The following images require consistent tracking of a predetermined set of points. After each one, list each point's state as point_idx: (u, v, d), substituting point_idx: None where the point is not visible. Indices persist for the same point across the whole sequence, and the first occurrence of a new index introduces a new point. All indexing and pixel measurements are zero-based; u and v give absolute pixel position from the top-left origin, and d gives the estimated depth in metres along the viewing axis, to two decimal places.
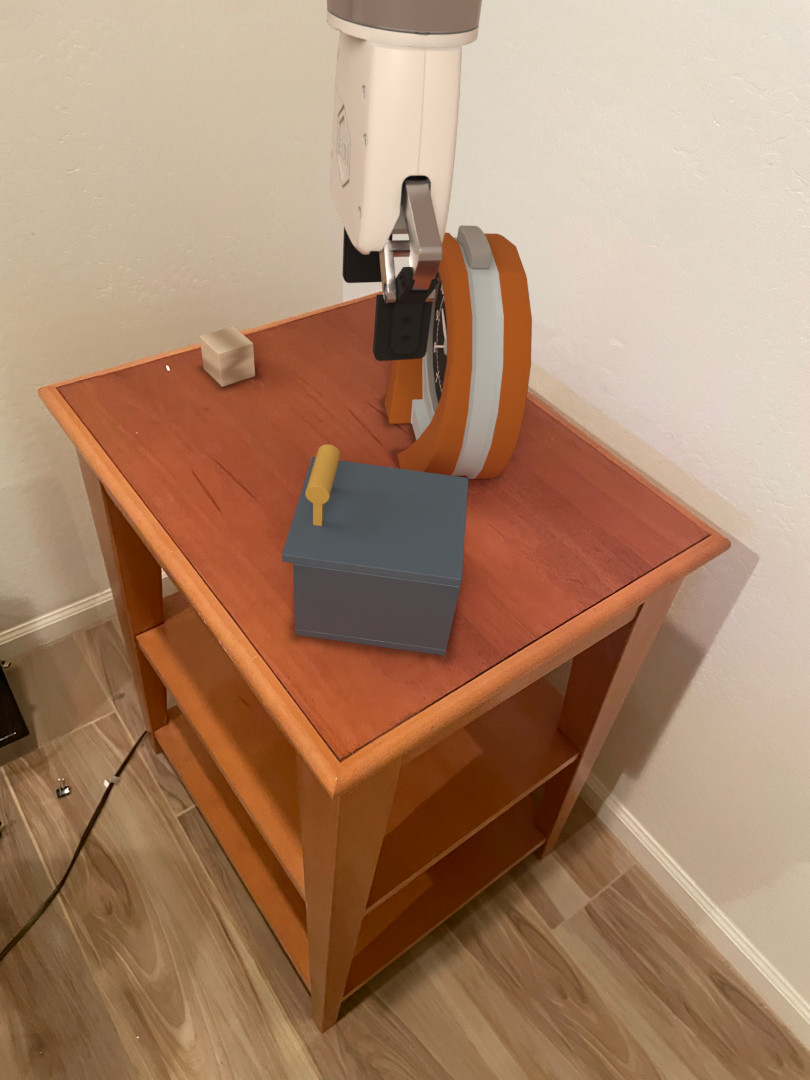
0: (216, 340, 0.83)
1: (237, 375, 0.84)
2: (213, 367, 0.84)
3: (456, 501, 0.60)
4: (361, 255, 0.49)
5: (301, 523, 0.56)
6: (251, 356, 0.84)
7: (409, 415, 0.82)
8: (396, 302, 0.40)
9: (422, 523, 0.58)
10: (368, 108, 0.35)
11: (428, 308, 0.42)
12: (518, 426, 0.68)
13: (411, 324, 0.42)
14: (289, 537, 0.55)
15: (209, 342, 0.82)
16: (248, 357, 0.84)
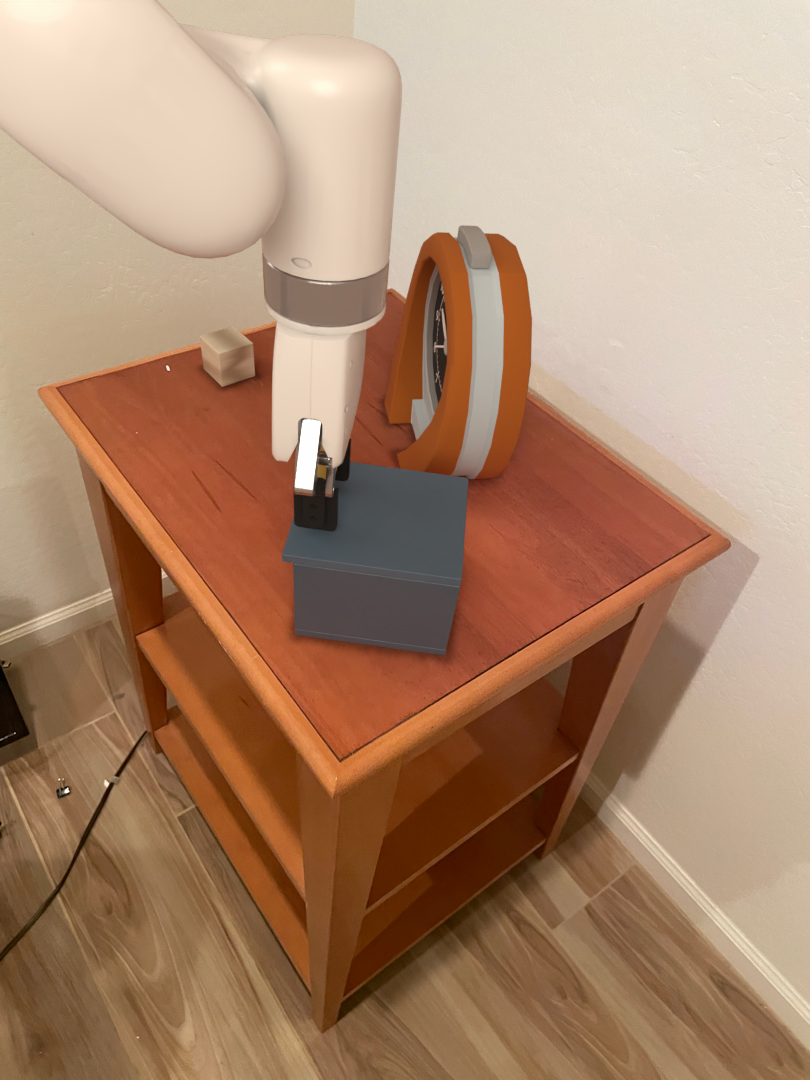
0: (216, 340, 0.83)
1: (237, 375, 0.84)
2: (213, 367, 0.84)
3: (456, 501, 0.60)
4: None
5: None
6: (251, 356, 0.84)
7: (409, 415, 0.82)
8: None
9: (422, 523, 0.58)
10: (273, 368, 0.45)
11: (334, 499, 0.53)
12: (518, 426, 0.68)
13: (317, 509, 0.53)
14: (289, 537, 0.55)
15: (209, 342, 0.82)
16: (248, 357, 0.84)
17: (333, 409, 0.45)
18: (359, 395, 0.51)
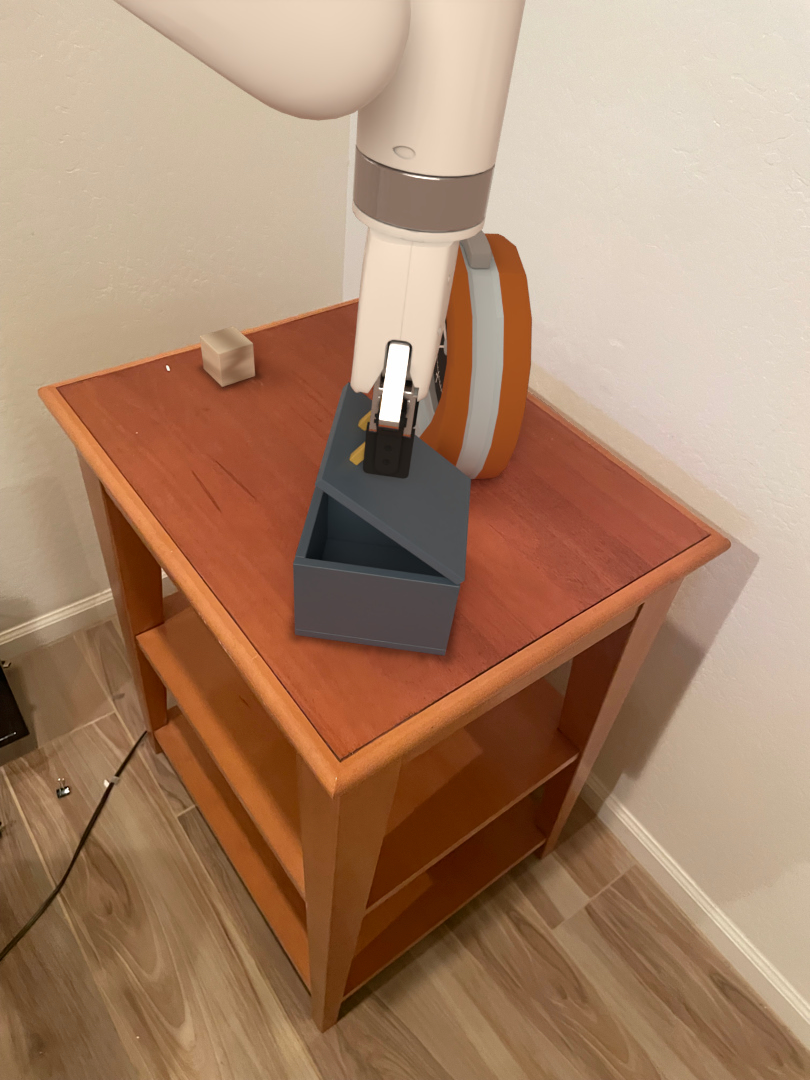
0: (216, 340, 0.83)
1: (237, 375, 0.84)
2: (213, 367, 0.84)
3: (461, 498, 0.59)
4: None
5: (339, 452, 0.51)
6: (251, 356, 0.84)
7: None
8: (377, 432, 0.47)
9: (436, 506, 0.56)
10: (362, 281, 0.40)
11: (411, 441, 0.49)
12: (518, 426, 0.68)
13: (391, 451, 0.48)
14: (328, 462, 0.50)
15: (209, 342, 0.82)
16: (248, 357, 0.84)
17: (427, 329, 0.41)
18: None
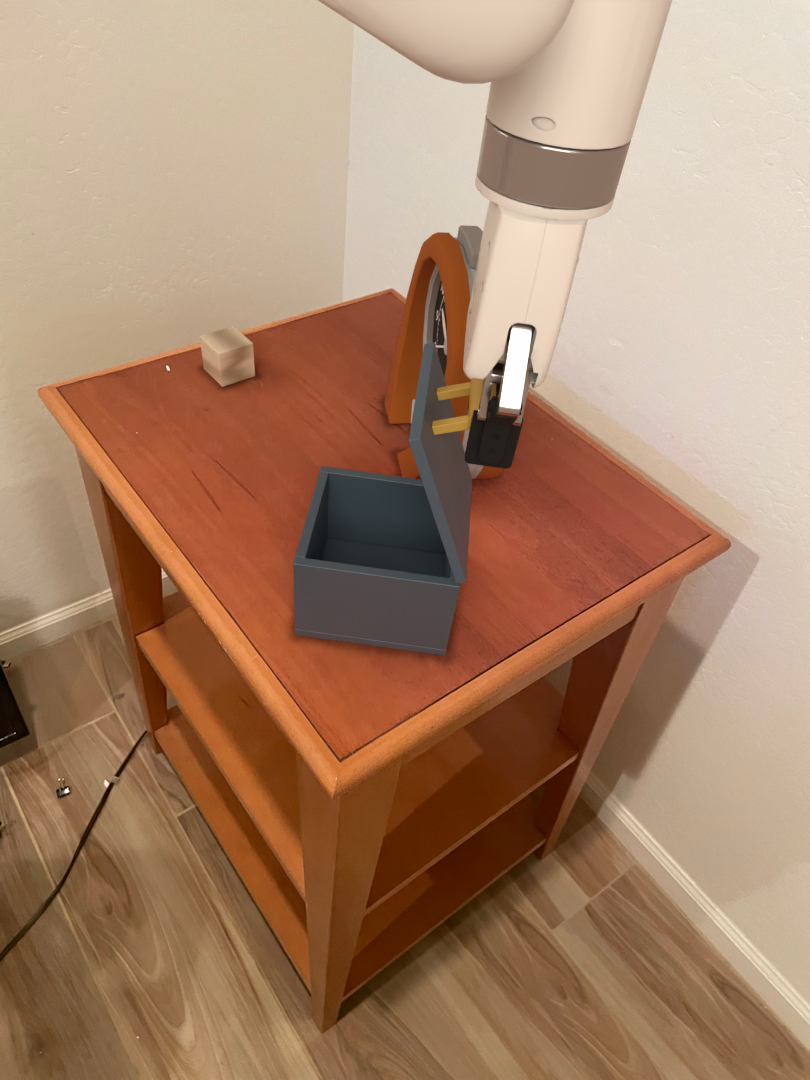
0: (216, 340, 0.83)
1: (237, 375, 0.84)
2: (213, 367, 0.84)
3: (468, 498, 0.59)
4: None
5: (428, 415, 0.48)
6: (251, 356, 0.84)
7: (409, 415, 0.82)
8: (486, 421, 0.46)
9: (460, 500, 0.55)
10: (488, 262, 0.39)
11: (518, 430, 0.47)
12: None
13: (498, 440, 0.47)
14: (423, 423, 0.46)
15: (209, 342, 0.82)
16: (248, 357, 0.84)
17: (553, 312, 0.39)
18: None
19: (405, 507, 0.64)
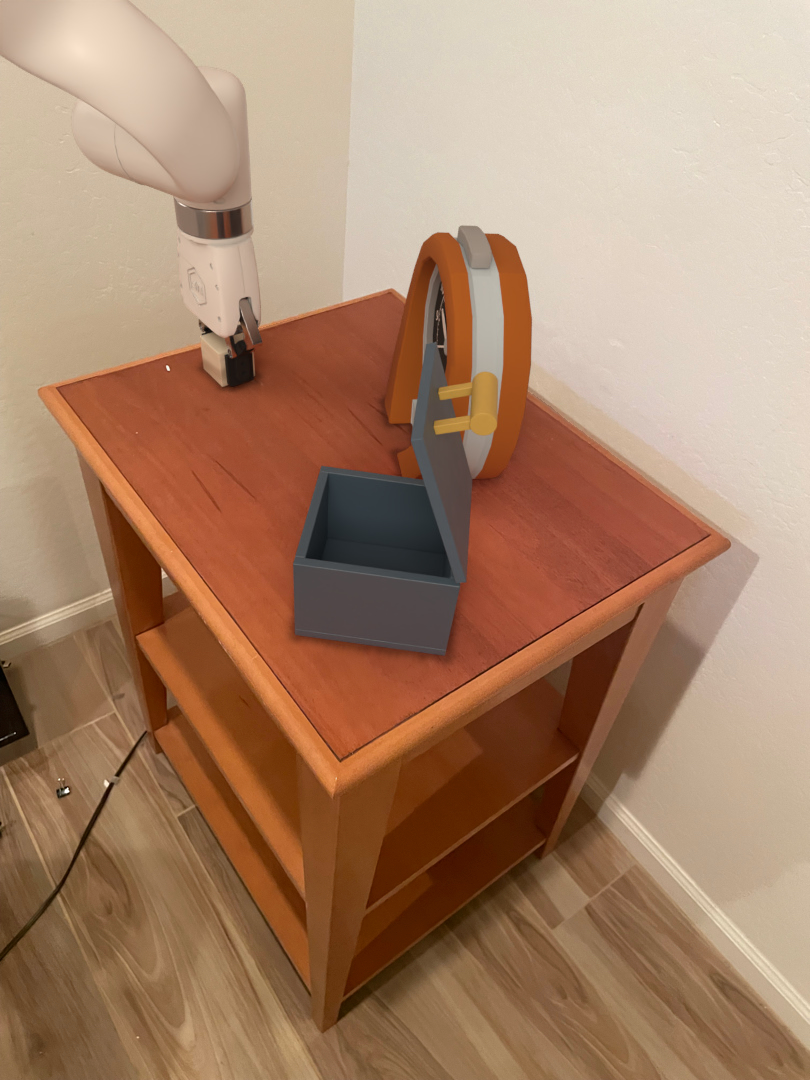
0: (216, 341, 0.83)
1: None
2: (213, 367, 0.84)
3: (468, 498, 0.59)
4: None
5: (430, 415, 0.48)
6: None
7: (409, 415, 0.82)
8: (236, 357, 0.81)
9: (460, 500, 0.55)
10: (216, 274, 0.73)
11: (251, 355, 0.83)
12: (518, 426, 0.68)
13: (245, 365, 0.83)
14: (425, 423, 0.46)
15: (209, 342, 0.82)
16: None
17: (255, 286, 0.76)
18: None
19: (405, 507, 0.64)
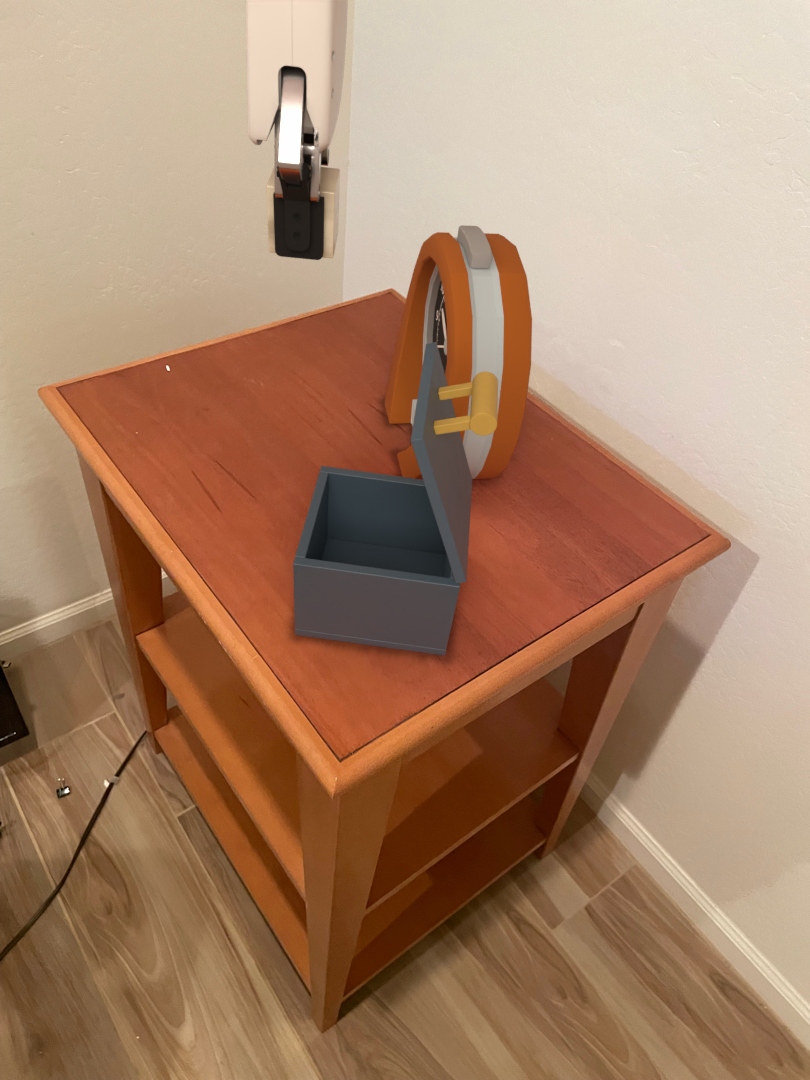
0: None
1: None
2: None
3: (468, 498, 0.59)
4: None
5: (430, 415, 0.48)
6: (328, 217, 0.48)
7: (409, 415, 0.82)
8: (284, 197, 0.46)
9: (460, 500, 0.55)
10: None
11: (320, 210, 0.47)
12: (518, 426, 0.68)
13: (301, 222, 0.47)
14: (425, 423, 0.46)
15: None
16: None
17: (319, 51, 0.39)
18: (342, 79, 0.45)
19: (405, 507, 0.64)
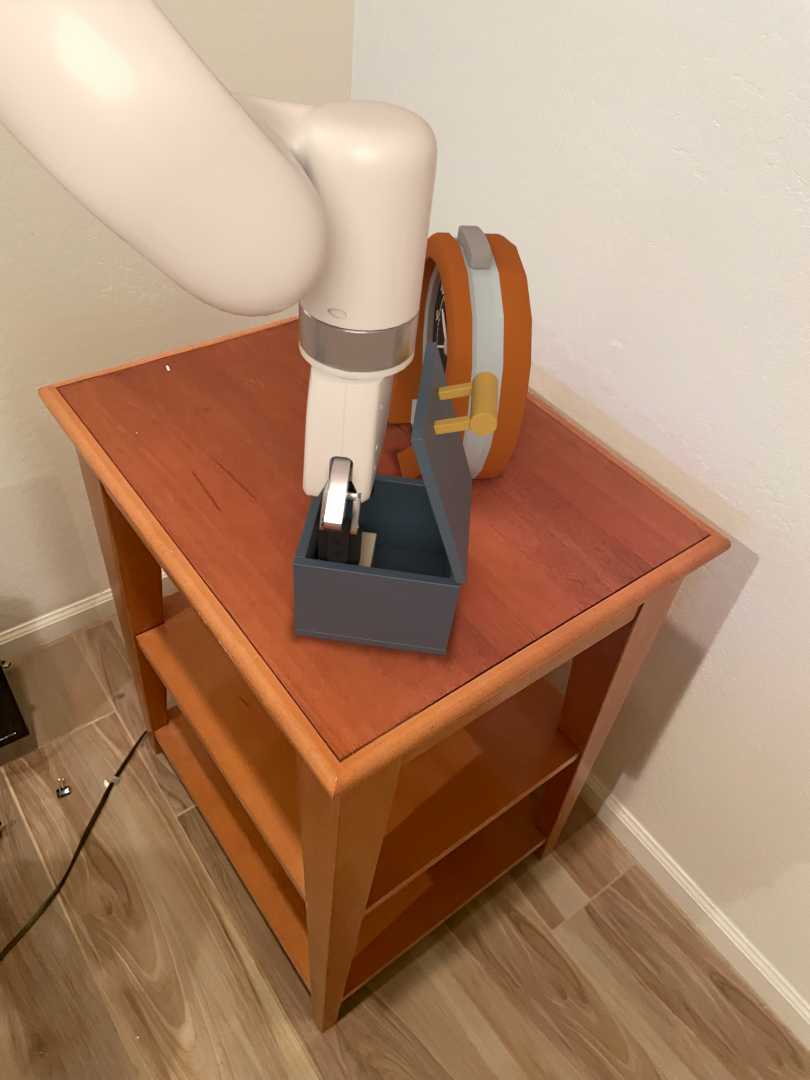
0: None
1: None
2: None
3: (468, 498, 0.59)
4: None
5: (430, 415, 0.48)
6: None
7: (409, 415, 0.82)
8: None
9: (460, 500, 0.55)
10: (307, 409, 0.47)
11: (358, 536, 0.54)
12: (518, 426, 0.68)
13: (341, 545, 0.54)
14: (425, 423, 0.46)
15: None
16: None
17: (364, 448, 0.47)
18: None
19: (405, 507, 0.64)
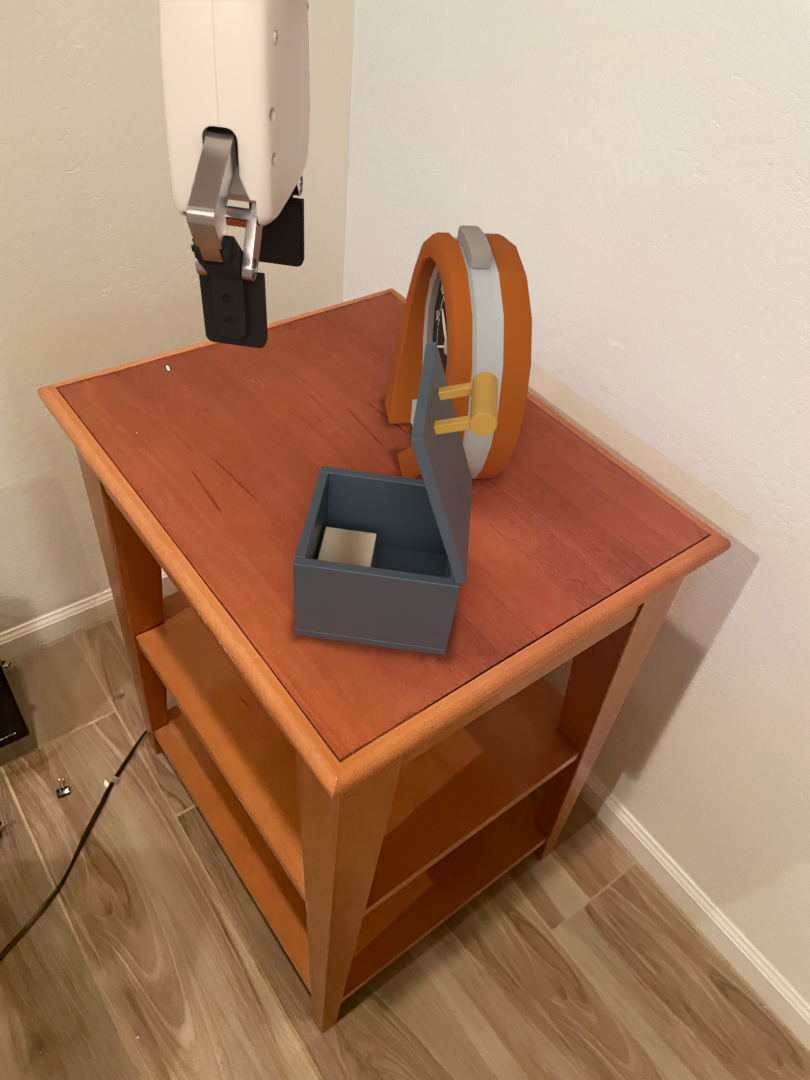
0: (335, 544, 0.61)
1: None
2: None
3: (468, 498, 0.59)
4: (267, 232, 0.44)
5: (430, 415, 0.48)
6: None
7: (409, 415, 0.82)
8: (209, 274, 0.35)
9: (460, 500, 0.55)
10: None
11: (259, 290, 0.37)
12: (518, 426, 0.68)
13: (233, 304, 0.36)
14: (425, 423, 0.46)
15: (325, 542, 0.61)
16: None
17: (251, 109, 0.31)
18: (300, 136, 0.37)
19: (405, 507, 0.64)
